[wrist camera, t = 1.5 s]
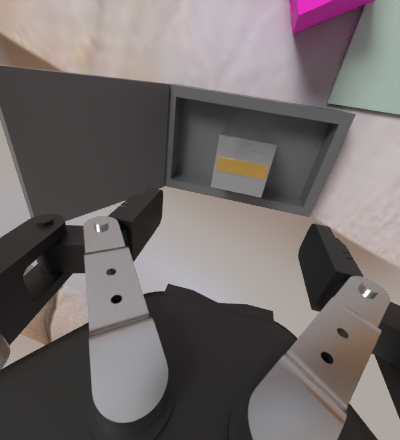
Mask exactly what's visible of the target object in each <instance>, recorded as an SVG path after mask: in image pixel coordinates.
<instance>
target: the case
mask: <svg viewBox="0 0 400 440" xmlns="http://www.w3.org/2000/svg"><path fill="white" fill-rule="evenodd" d="M355 115H356V114H352V113H348V112H344V111H338V110H332V109H326V108H320V107H313V106H307V105H301V104H295V103H289V102H282V101H276V100H270V99H264V98H258V97H252V96H245V95H239V94H233V93H227V92H221V91H215V90H208V89H202V88H196V87H190V86H184V85H178V84H165V83H157V82H148V81H139V80H130V79H121V78H113V77H104V76H95V75H86V74H77V73H68V72H60V71H51V70H41V69H33V68H24V67H15V66H7V65H0V120H1V124H2V127H3V130H4V133H5V136H6V139H7V143H8V146H9V149H10V152H11V155H12V158H13V162H14V165H15V168H16V171H17V174H18V177H19V181H20V184H21V186H22V190H23V193H24V197H25V200H26V203H27V206H28V209H29V212H30V216H31V218H33V217H35V216H38V215H43V214H57V215H60V216H62V217H63V218H64V220H65V221H67V220H70V219H73V218H76V217H79V216H82V215H85V214H88V213H90V212H93V211H96V210H99V209H102V208H105V207H108V206H110V205H113V204H116V203H119V202H122V201H125V200H127V199H128V198H129V197H131V196H134V195H136V194H142V193H143V192H144V191H145V190H146V189H147V188H149V187H150V188H154V189H159V188H162V187H164V186H168V187H173V188H178V189H182V190H187V191H192V192H196V193H201V194H205V195H210V196H215V197H219V198H224V199H229V200H233V201H238V202H242V203H247V204H252V205H257V206H261V207H266V208H270V209H275V210H280V211H284V212H290V213H294V214H298V215H303V216H307V217H309V215H310V213H311V211H312V209H313V206H314V204H315V202H316V200H317V198H318V196H319V193H320V191H321V189H322V187H323V185H324V182H325V180H326V178H327V176H328V174H329V172H330V169H331V167H332V165H333V163H334V161H335V158H336V156H337V154H338V152H339V150H340V148H341V145H342V143H343V141H344V139H345V137H346V135H347V132H348V130H349V128H350V126H351V124H352V121H353V119H354V117H355ZM227 124H232V125H238V126H244V127H249V128H255V129H260V130H266V131H272V132H273V135H274V138H275V140H276V143H277V148H276V151H275V154H274V157H273V161H272V164H271V167H270V170H269V174H268V177H267V180H266V183H265V187H264V190H263V193H262V196H261V198H260V197H255V196H250V195H246V194H241V193H236V192H231V191H227V190H222V189H217V188H213V187H211V182H212V176H213V170H214V164H215V159H216V153H217V147H218V141H219V135H220V133H221V132H222V131H223V130H224V128H225V127H226V126H227Z"/></svg>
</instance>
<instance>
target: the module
mask: <svg viewBox="0 0 400 440" xmlns="http://www.w3.org/2000/svg"><path fill="white" fill-rule="evenodd" d="M276 148H277V143H276V140H275V138H274V135H273V132H272V131H266V130H260V129H255V128H249V127H244V126H238V125H232V124H227V126H226V127H225V128H224V130H223V131H222V132H221V133H220V135H219V141H218V147H217V153H216V159H215V164H214V170H213V176H212V182H211V187H213V188H217V189H222V190H227V191H231V192H236V193H241V194H246V195H250V196H255V197H260V198H261V196H262V193H263V190H264V187H265V183H266V180H267V177H268V174H269V170H270V167H271V164H272V161H273V157H274V154H275V151H276Z"/></svg>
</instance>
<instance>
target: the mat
mask: <svg viewBox="0 0 400 440" xmlns="http://www.w3.org/2000/svg"><path fill="white" fill-rule="evenodd" d="M327 103H330V104H336V105H343V106H349V107H355V108H361V109H368V110H374V111H380V112H387V113H393V114H399V115H400V0H375V1H373V2H370V3H368V4H365V5H364V7H363V10H362V13H361V15H360V18H359V20H358V23H357V26H356V28H355V31H354V33H353V36H352V38H351V41H350V44H349V46H348V49H347V51H346V54H345V57H344V59H343V62H342V64H341V67H340V70H339V72H338V75H337V77H336V80H335V83H334V85H333V88H332V90H331V93H330V95H329V98H328V101H327Z"/></svg>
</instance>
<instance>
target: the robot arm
mask: <svg viewBox="0 0 400 440" xmlns="http://www.w3.org/2000/svg"><path fill="white" fill-rule="evenodd" d="M162 205H163V191H162V190H159V189H154V188H150V187H149V188H147V189H146V190H145V191H144V192H143V193H142V194H136V195H134V196H131V197H129V198H128V199H127V200H126V201H125V202H124V203H123V204H121V206H119V207H118V208H117V209H116V210H115V211H113V212H112V213H111V214H110V215H109V216H108V217H107V216H102V217H95V218H92V219H90V220H88V221H87V222H85V224H84V226H72V225H65V220H64V218H63V217H62V216H60V215H57V214H43V215H38V216H35V217H33V218H31V219H29V220H28V221H26V222H24V223H23V224H21V225H20V226H18V227H17V228H15V229H14V230H12V231H10V232H9V233H7V234H6V235H4V236H3V237H1V238H0V440H377V438H376V437H375V436H374V434H373V433H372V432H371V430H369V428H368V427H367V425H366V424H365V423H364V422H363V420H362V419H361V418H360V416H359V415H358V414H357V413H356V411H355V410H354V409H353V408H352V406H351V405H350V404H349V402H350V400H351V397H352V395H353V393H354V391H355V389H356V386H357V384H358V382H359V380H360V377H361V375H362V373H363V371H364V369H365V367H366V364H367V362H368V360H369V358H370V355H371V353H372V354H374V355H375V357H376V360H377V362H378V365H379V367H380V370H381V372H382V375H383V377H384V380H385V383H386V385H387V388H388V390H389V393H390V395H391V398H392V400H393V403H394V405H395V408H396V410H397V413H398V416H399V418H400V306H399V305H397V304H394V303H392V302H390V297H389V295H388V294H387V292H386V291H385V290H384V289H383V288H382V287H381V286H379V285H378V284H377V283H375V282H373V281H372V280H369V279H367V278H365V277H363V275H362V273H361V271H360V270H359V268H358V266H357V264H356V263H355V261H354V260H353V258H352V256H351V254H350V252H349V251H348V249H347V247H346V246H345V245H344V244H343V243H342V242H341V241H340V240H339V239H338V238H335V236H334V235H333V233H332V231H331V229H330V227H327V226H323V225H318V224H312V225H311V226H310V228H309V230H308V232H307V234H306V236H305V238H304V240H303V242H302V244H301V246H300V249H299V254H298V258H299V262H300V266H301V270H302V274H303V278H304V281H305V286H306V289H307V293H308V297H309V301H310V305H311V308H312V310H316V311H320V313H319V314H318V315H317V316H316V318H315V319H314V320H313V321H312V323H311V324H310V325H309V326H308V327H307V329H306V330H305V331H304V332H303V333H302V335H301V336H300V337H299V338H298V339H297V338H296V337H295V336H294V335H293V334H292V333H291V332H290V331H289V330H287V329H286V328H285V327H283V326H282V325H280V324H279V323H277V322H275V321H274V319H273V311H270V310H266V309H262V308H258V307H254V306H251V305H247V304H227V303H217V302H215V301H213V300H211V299H209V298H207V297H205V296H203V295H201V294H199V293H197V292H195V291H193V290H190V289H186V288H182V287H178V286H174V285H171V284H168V286H167V288H166V290H165V291H159V292H151V293H146V294H143V292H142V289H141V286H140V283H139V279H138V276H137V273H136V270H135V266H134V263H133V262H134V261H135V259H136V258H137V256H138V255H139V253H140V252H141V251H142V249H143V248H144V246H145V245H146V243H147V242H148V240H149V239H150V238H151V236H152V235H153V233H154V232H155V230H156V229H157V227H158V226H159V224H160V222H161V218H162ZM35 260H37V263H38V264H37V265H36V266H35V267H34V268H33V269H31V270H30V271H29V272H28V273H27V274H26V275H25V276H24V277H23V274H24V272H25V270H26V268H27V267H28V266H29V265H30V264H32V263H33V262H34V261H35ZM73 273H85V275H86V289H87V305H88V319H89V322H88V323H86V324H85V325H83V326H81V327H79V328H77V329H75V330H73V331H71V332H70V333H68V334H66V335H64V336H62V337H60V338H58V339H57V340H55V341H53V342H51V343H49V344H47V345H45V346H43V347H42V348H40V349H38V350H36V351H34V352H33V353H30V354H29V355H27V356H25V357H23V358H21V359H19V360H17V361H15V362H14V363H12V364H10V365H8V366H7V367H5V368H3V366H4V365H5V363H6V362H7V359H8V358H9V355H10V346H9V345H10V344H11V343H12V342H13V341H14V340H15V338H16V337H17V336H18V335H19V334H20V333H21V332H22V331H23V329H24V328H25V327H26V326H27V325H28V324H29V323H30V321H31V320H32V319H33V318H34V317H35V316H36V315H37V314H38V312H39V311H40V310H41V309H42V308H43V307H44V306H45V304H46V303H47V302H48V301H49V300H50V299H51V298H52V296H53V295H54V294H55V293H56V292H57V291H58V290H59V289H60V287H61V286H62V285H63V284H64V283H65V281H66V280H67V279H68V278H69V277H70V276H71V275H72V274H73ZM2 368H3V369H2Z"/></svg>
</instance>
